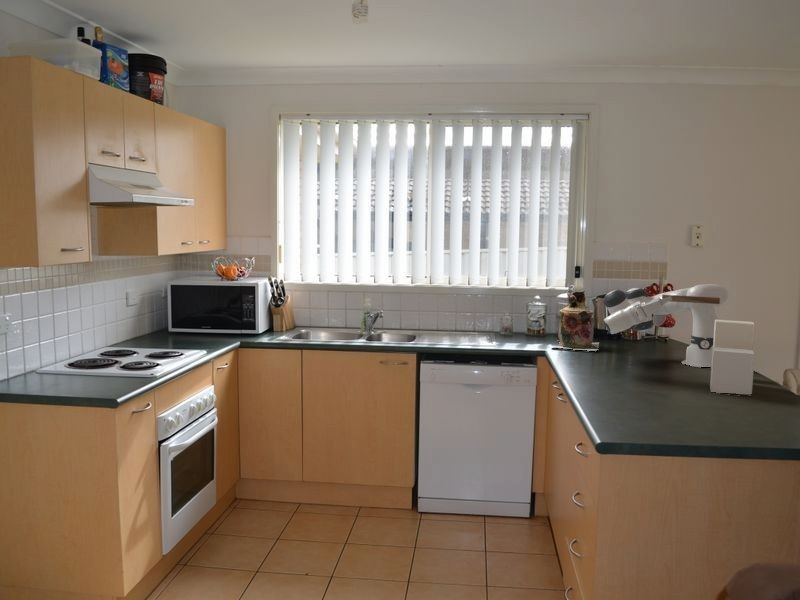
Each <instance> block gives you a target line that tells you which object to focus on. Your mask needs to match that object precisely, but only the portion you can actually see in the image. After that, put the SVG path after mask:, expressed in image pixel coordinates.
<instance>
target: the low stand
mask: <svg viewBox="0 0 800 600" xmlns="http://www.w3.org/2000/svg"><path fill="white" fill-rule="evenodd" d="M755 355H756V354H755V352H754V350H753V351H752V350H745V349H732V348H719V347H713V348H712V363H711V368H710V379H709V380H710V382H709V389H710V393H711V392H716V393H715V394H720V393H736V394H753V383H754V370H755V367H754V366H755Z"/></svg>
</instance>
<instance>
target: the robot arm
mask: <svg viewBox="0 0 800 600" xmlns="http://www.w3.org/2000/svg"><path fill="white" fill-rule="evenodd" d="M649 295H651V294H650V292H647V291H646V290H645V289H643V288H639V287H633V288H629V289H628V290H627V291H624V290H621V289H615V290H614V289H613V290H612V291H610V292H608V293H606V295H605V296H604V297H603V301H602V302H603V304H604V305H605V307H606V309H607V311H608V313H609V315H608V316H606V317H605V318H603V323H604V326H605V328H606V330H607V331H608V333H609V334H610V335H614V334H618V333H621V332H624V333H626V332H628V331H630V330H632V331H635V332H640V333H641V332H647V331H649V330H650V329H652V328H653V326H654V320H653V315H654V316H657V315H658V316H664V315H672V314H679V313H685V312H691V314H692V332H691V333H692V335H691V336H690V345H688V346H687V347H686V350H685V359H684V360H682V361H681V363H682V364H681V365H685V364H686V365H687V366H689V365H690V367H694V368H701V367H711V363H712V348H713V341H714V326H715V320H719V319H718V318H717V315H716V308H717V307H720V306H721V305H723V304H725V303H726V302H727V300H728V298H729V292H728V290H727V288H726V287H724V286H723V285H721V284H717V283H706V284H703V283H702V284H696V285H694V286H692V287H687V288H686V287H685V288H681V289H676V290H670V291H665V292H662V293H658V294H655V295H652V296H649ZM662 295H680V296H701V297H720V304H709V303H690V302H671V300H672V297H671V296H669V297H667V298H664V299H662Z"/></svg>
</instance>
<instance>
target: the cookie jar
mask: <svg viewBox="0 0 800 600" xmlns="http://www.w3.org/2000/svg"><path fill="white" fill-rule="evenodd" d="M585 291H586V290H585V289H583V290H582V291H578V290H575V291H574V292H572V293H570V294H569V295H568V299H567V300H568V303H569V304H568V305H567V306H566V307H564V308H562V309H559V314H560V318H559V319H560V320H559V321H560V322H559V325H558V339H559V341H560V342H559V345H560V346H563V347H569V348H563V349H562V350H567V349H572V348H582V349H573V350H572V351H575V350H587V351H586V352H589V351H595V352H596V351H597V350H598V351H599V349H585V348H591V347H592V346H595V347H597V348H599V345H600V342H593V340H594V326H595V318H594V317H593V315H594V312H595V311H594V310H591V309H590V308H588V306H587V305H586V296H585V295H586V294H585ZM553 348H560V347H553Z"/></svg>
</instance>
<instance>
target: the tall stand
mask: <svg viewBox="0 0 800 600" xmlns="http://www.w3.org/2000/svg"><path fill="white" fill-rule="evenodd" d="M755 329H756V324H755V323H754V322H753V321H744V320H729V319H728V320H727V319H718V320H715V326H714V341H713V347H719V348H732V349H745V350H752V351H753V352H754V345H755V344H754V343H755V332H756V331H755Z"/></svg>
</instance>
